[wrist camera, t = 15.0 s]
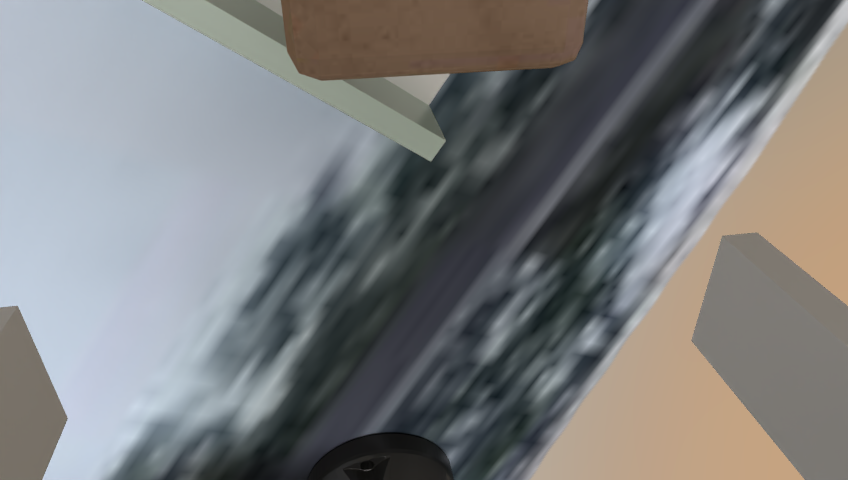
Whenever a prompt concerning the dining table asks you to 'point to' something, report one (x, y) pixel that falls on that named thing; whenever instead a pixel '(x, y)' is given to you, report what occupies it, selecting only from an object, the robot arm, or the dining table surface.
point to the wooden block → (429, 36)
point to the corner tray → (358, 98)
